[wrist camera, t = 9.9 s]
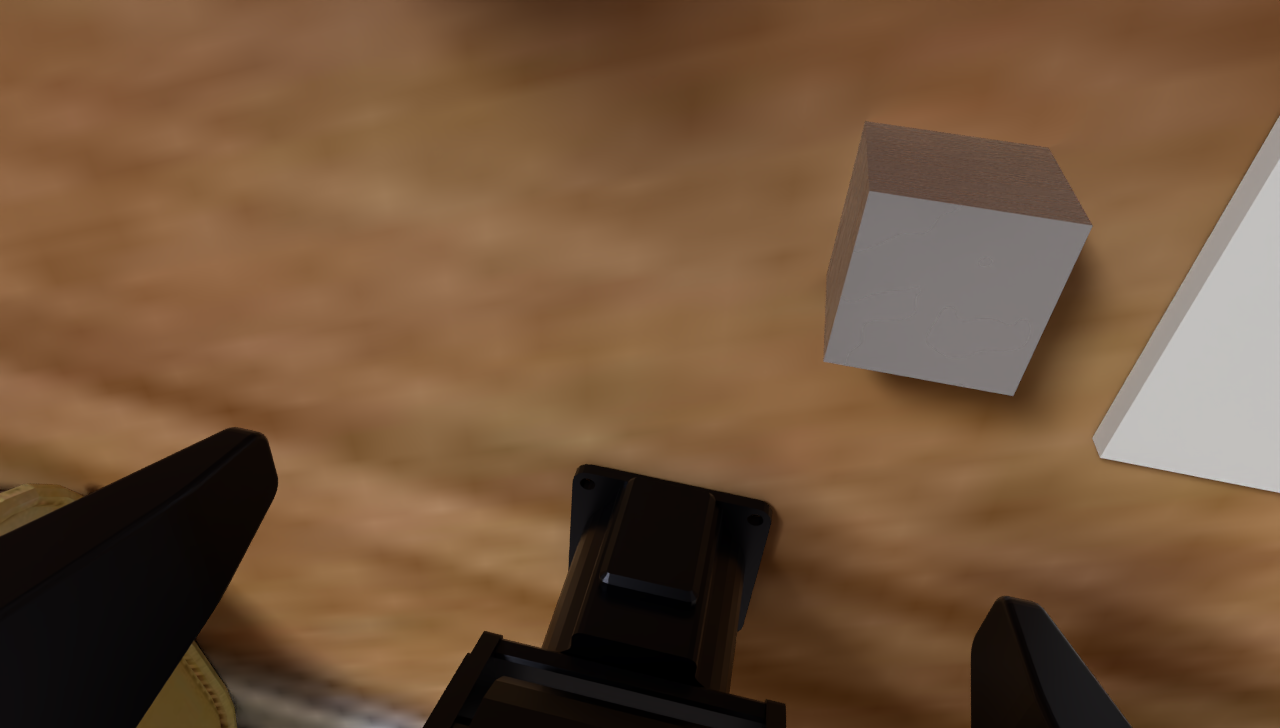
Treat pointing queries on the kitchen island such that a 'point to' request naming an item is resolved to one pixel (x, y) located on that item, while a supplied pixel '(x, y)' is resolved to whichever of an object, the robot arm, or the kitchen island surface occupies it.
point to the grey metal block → (949, 257)
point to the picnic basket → (194, 694)
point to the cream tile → (1214, 353)
